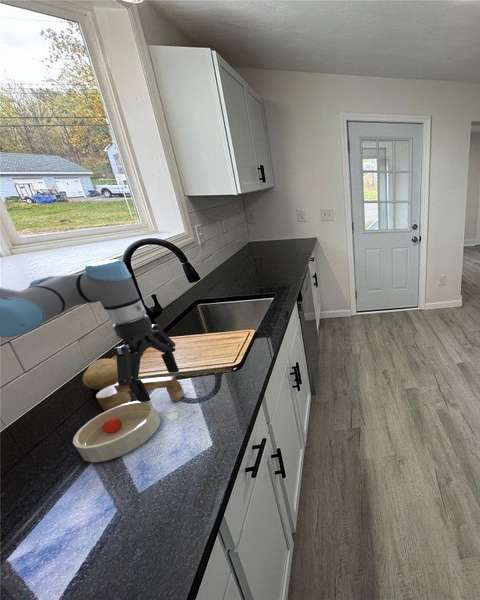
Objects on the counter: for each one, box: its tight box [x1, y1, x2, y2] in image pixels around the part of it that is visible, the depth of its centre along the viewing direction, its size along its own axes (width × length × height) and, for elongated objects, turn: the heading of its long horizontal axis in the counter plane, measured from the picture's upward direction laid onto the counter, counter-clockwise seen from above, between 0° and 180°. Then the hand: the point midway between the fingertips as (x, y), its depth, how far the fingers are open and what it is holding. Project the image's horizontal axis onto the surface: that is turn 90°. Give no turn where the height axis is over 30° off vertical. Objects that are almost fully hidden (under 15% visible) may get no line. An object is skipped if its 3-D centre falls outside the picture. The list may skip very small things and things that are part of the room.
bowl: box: [72, 400, 161, 463], centre depth 78 cm, size 16×16×5 cm
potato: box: [82, 358, 118, 391], centre depth 99 cm, size 10×14×8 cm
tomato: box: [103, 418, 122, 433], centre depth 80 cm, size 4×4×4 cm
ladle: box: [95, 375, 185, 412], centre depth 91 cm, size 22×6×7 cm, turn 94°
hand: (160, 385), depth 90 cm, fingers open, 12 cm apart
